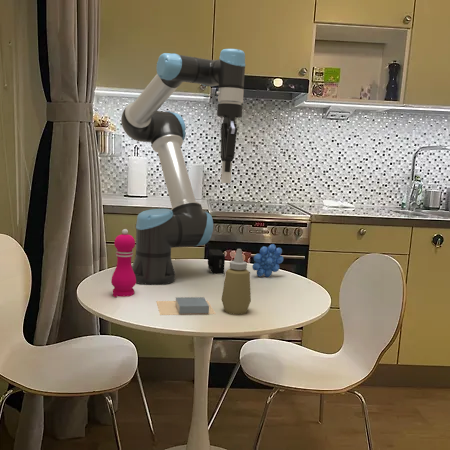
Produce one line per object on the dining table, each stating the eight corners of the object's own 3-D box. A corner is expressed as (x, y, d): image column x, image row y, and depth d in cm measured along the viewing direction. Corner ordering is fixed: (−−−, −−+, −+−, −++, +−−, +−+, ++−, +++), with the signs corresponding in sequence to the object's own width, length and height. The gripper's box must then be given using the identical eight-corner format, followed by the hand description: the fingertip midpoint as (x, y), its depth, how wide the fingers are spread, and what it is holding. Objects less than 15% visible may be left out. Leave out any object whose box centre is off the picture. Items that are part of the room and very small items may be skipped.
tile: (175, 297, 143) (179, 306, 136) (203, 297, 145) (209, 305, 137) (175, 305, 144) (179, 314, 136) (203, 305, 145) (208, 314, 138)
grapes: (277, 273, 190) (279, 241, 188) (284, 278, 183) (287, 245, 182) (247, 274, 186) (249, 241, 184) (254, 279, 180) (256, 245, 178)
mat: (156, 303, 147) (156, 301, 147) (207, 302, 150) (207, 300, 150) (160, 317, 135) (160, 314, 135) (215, 316, 138) (215, 313, 138)
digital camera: (205, 267, 194) (205, 249, 193) (219, 267, 195) (220, 249, 194) (209, 274, 184) (210, 254, 183) (223, 274, 185) (225, 255, 184)
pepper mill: (114, 299, 148) (116, 231, 145) (108, 293, 154) (109, 227, 151) (138, 297, 151) (141, 230, 148) (131, 291, 157) (133, 226, 154)
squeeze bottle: (227, 318, 137) (231, 252, 134) (216, 309, 144) (219, 246, 141) (255, 316, 140) (259, 251, 137) (242, 307, 147) (246, 245, 145)
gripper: (213, 104, 159) (209, 180, 162) (222, 101, 146) (217, 184, 149) (237, 106, 160) (232, 181, 164) (247, 103, 148) (242, 185, 151)
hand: (225, 182), depth 157 cm, fingers closed
